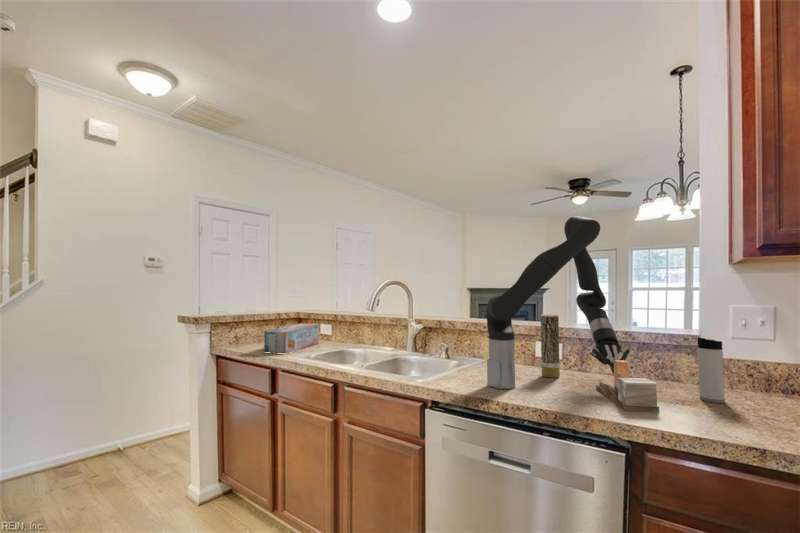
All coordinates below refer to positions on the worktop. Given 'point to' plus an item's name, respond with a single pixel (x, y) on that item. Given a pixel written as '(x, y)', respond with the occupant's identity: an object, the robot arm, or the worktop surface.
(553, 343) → the bark textured post
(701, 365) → the travel mug
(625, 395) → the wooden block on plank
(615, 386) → the orange flat block
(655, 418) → the worktop surface
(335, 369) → the worktop surface
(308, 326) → the soda box
